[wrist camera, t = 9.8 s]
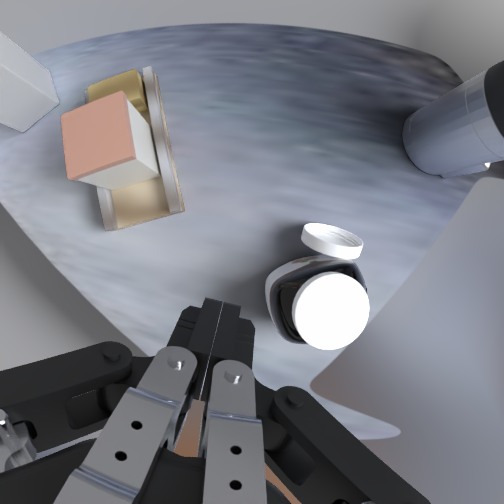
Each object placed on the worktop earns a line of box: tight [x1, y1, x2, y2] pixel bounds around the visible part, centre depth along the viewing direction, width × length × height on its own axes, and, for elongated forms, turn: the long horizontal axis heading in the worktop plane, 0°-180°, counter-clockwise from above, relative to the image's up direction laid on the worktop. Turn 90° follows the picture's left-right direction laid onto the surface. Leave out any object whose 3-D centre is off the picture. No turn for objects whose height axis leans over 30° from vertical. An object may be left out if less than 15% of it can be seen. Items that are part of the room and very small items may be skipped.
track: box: [84, 66, 185, 231], centre depth 33 cm, size 18×9×6 cm, turn 14°
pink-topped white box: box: [61, 91, 161, 191], centre depth 29 cm, size 6×6×11 cm
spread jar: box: [265, 223, 369, 350], centre depth 32 cm, size 12×11×12 cm
